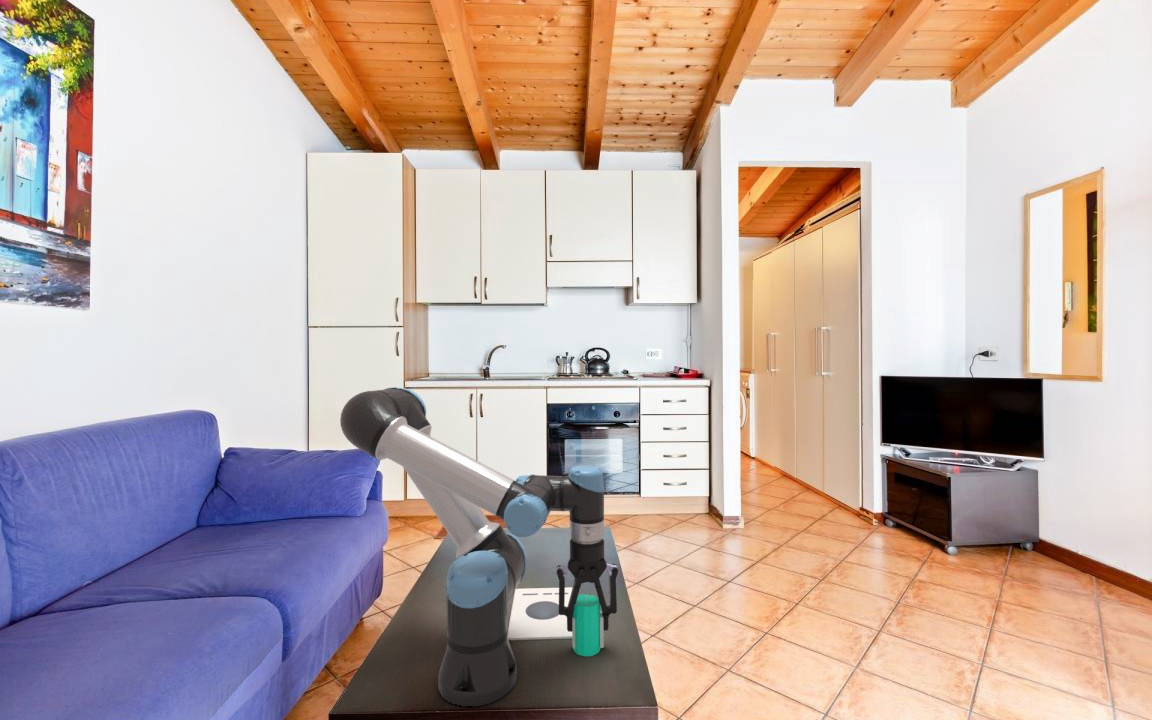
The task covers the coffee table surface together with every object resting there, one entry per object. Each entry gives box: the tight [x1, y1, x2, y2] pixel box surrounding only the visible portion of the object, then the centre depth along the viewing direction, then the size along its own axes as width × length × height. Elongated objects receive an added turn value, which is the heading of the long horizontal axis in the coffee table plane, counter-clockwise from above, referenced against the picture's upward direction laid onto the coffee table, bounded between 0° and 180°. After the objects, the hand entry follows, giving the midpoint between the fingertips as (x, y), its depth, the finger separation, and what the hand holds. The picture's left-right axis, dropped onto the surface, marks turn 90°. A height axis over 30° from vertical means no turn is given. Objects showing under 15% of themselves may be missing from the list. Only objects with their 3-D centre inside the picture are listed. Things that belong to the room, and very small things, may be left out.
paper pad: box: [507, 586, 573, 641], centre depth 125 cm, size 24×16×1 cm, turn 2°
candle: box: [573, 592, 601, 657], centre depth 109 cm, size 6×6×12 cm
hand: (587, 644), depth 109 cm, fingers closed on candle, 5 cm apart
